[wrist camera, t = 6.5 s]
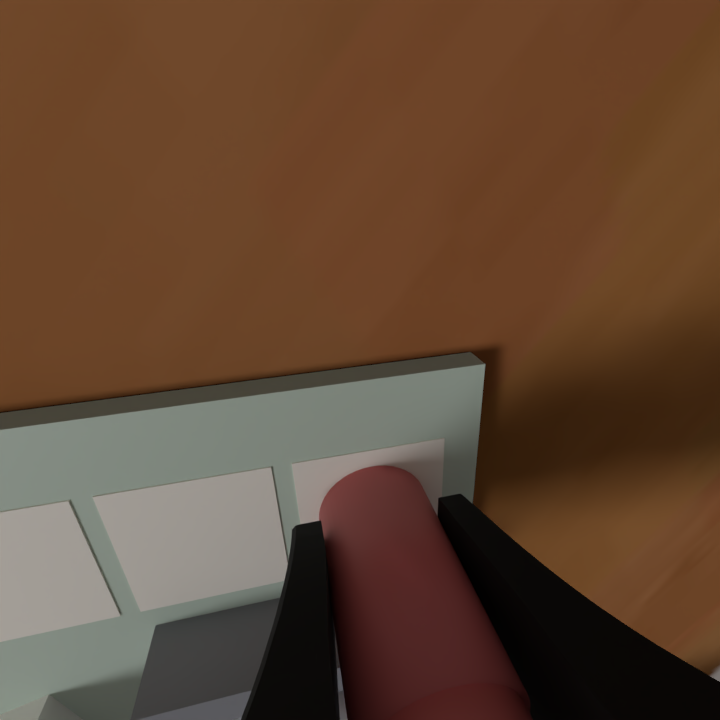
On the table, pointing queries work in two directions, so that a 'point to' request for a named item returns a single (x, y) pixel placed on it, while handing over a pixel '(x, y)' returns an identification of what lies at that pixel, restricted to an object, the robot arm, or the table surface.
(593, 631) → the robot arm
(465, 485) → the board
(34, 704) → the die
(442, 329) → the table surface
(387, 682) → the red rounded capsule
